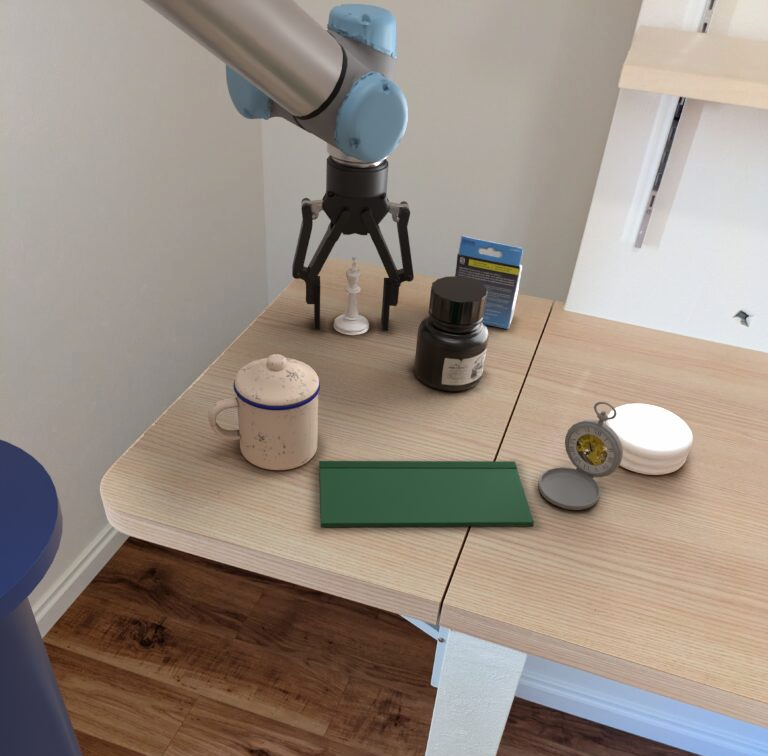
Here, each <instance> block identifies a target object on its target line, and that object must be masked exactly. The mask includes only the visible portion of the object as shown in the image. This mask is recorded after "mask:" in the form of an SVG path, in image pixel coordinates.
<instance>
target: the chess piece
mask: <svg viewBox="0 0 768 756" xmlns="http://www.w3.org/2000/svg"><path fill="white" fill-rule="evenodd" d="M351 260H352V261H351V268H349V269H347V270H346V271H345V276H346V278H347V283H348V285H346V286H345V287H344V291H345V292H346V293H348V299H347V304H346V311H345V313H343V314H340V315H337V317H335V319H334V321H333V328H334V330H335V331H336V332H338V333H340V334H341V335H346V336H360V335H363V334H365V333H366V332H368V330H369V329H370V323H369V320H368V319H367V317H365V316H363V315H361V314H360V313H359V311H358V300H357V294H358V293H360V292H361V291H362V289H361V287H360V286H359V285H358V284H359V280H360V278H361V275H362V272H361V271H360V270H359V269H357V268H356V267H357V266H356V265H357V257H352V259H351Z"/></svg>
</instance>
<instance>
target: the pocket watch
mask: <svg viewBox="0 0 768 756" xmlns="http://www.w3.org/2000/svg"><path fill="white" fill-rule="evenodd" d="M599 405H606V406H608V407H609V408H611V409H612V410H613V411H614V415H613V416H612V417H608V414H607V411H606V410H601V412H599V411H598V409H597V407H598V406H599ZM615 408H616V407H614V406H613V405H612V404H610V403H609V402H606V401H598V402H596V403H594V405H593V410H594V413H595V414H596V417H597V419H598V420H597V419H583V420H580V421H577V422H576V423H574V424H572V425H571V427H569V429H568V430H567V432H566V435H565V437H564V447H565V452H566V454H567V456H568V459H569V461H570V462H571V463H572V464H573V466H574V467H575V468H574V467H567V466H558V467H557V466H556V467H553V468H549V469H546V470H545V471H544V472H543V473H541V475H540V477H539V479H538V490H539V492H540V494H541V495H542V497H543V498H545V500H547V502H550V503H551V504H553V505H554V506H556V507H559V508H562V509H564V510H571V511H572V510H573V511H576V510H577V511H578V510H579V511H580V510H584V509H589V508H591V507H592V506H594V505H595V504H597V502H598V501H599V499H600V496H601V487H600V485H599V484H598V482H597V481H596V479H594V478H604V477H608V476H610V475H612V474H613V473H614V472H615V471H616V470H617V469H618V468H619V467H620V463H621V460H622V457H623V449H622V445H621V441H620V440H619V438H618V436H617V434H616V433H615V432H614V431H613V430H612V429H611V428H610V427H609V426H608V425H606V424H605V421H607V420H611V419H614V418H615V417H616V414H617V413H616V410H615ZM603 447H606V449H607V451H606V449H605V448H604V449H605V450H603ZM604 457H606V459H605V458H604Z"/></svg>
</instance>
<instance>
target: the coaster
mask: <svg viewBox="0 0 768 756" xmlns="http://www.w3.org/2000/svg"><path fill="white" fill-rule="evenodd" d="M614 408H615V410H616V413H617V414H616V417H615V418H614V419H611V420H607V421H604V424H606V425H608V426H609V427H610V428H611V429H612V430H613V431H614V432H615V433H616V434H617V436H618V438H619V440H620V441H621V445H622V449H623V457H622V460H621V463H620V465H619V467H622V468H624V469H626V470H628V471H631V472H634V473H638V474H642V475H649V476H661V475H667V474H671V473H674V472H676V471H678V470H679V469H680V468H681V467H683V465H684V464H686V463H685V462H686V461H687V457H688V455H689V453H690V449H691V448H692V446H693V442H694V436H693V432H692V430H691V428H690V427H689V425H688V424H687V423H686V422H685V421H684V420H683V419H682V418H681V417H680V416H678V415H677V414H675V413H673V412H672V411H670V410H668V409H665V408H663V407H659V406H656V405H653V404H647V403H627V404H623V405H620V406H617V407H614ZM613 415H614V411H613V409H612V410H611V411H610V412H609V413H608V414H607V416H608V417H612V416H613ZM604 448H605V449H606V447H603V450H605V449H604ZM606 451H607V449H606Z"/></svg>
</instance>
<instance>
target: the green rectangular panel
mask: <svg viewBox="0 0 768 756" xmlns="http://www.w3.org/2000/svg"><path fill="white" fill-rule="evenodd" d="M318 467H319V468H318V470H319V471H318V472H319V473H318V474H319V505H320V506H319V507H320V509H319V510H320V527H321V528H418V527H419V528H422V527H423V528H426V527H427V528H430V527H433V528H435V527H436V528H437V527H438V528H439V527H440V528H442V527H444V528H445V527H449V528H450V527H451V528H452V527H533V526H534V523H535V521H534V518H533V515H532V512H531V511H532V510H531V508H530V506H529V503H528V499H527V496H526V493H525V489H524V487H523V483H522V480H521V477H520V474H519V471H518V467H517V464H516V461H513V460H512V461H509V460H508V461H507V460H506V461H505V460H504V461H503V460H502V461H499V460H497V461H495V460H494V461H493V460H490V461H489V460H488V461H487V460H485V461H484V460H483V461H482V460H480V461H477V460H476V461H474V460H472V461H471V460H467V461H466V460H464V461H463V460H462V461H461V460H459V461H457V460H445V461H444V460H441V461H440V460H319V463H318Z"/></svg>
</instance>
